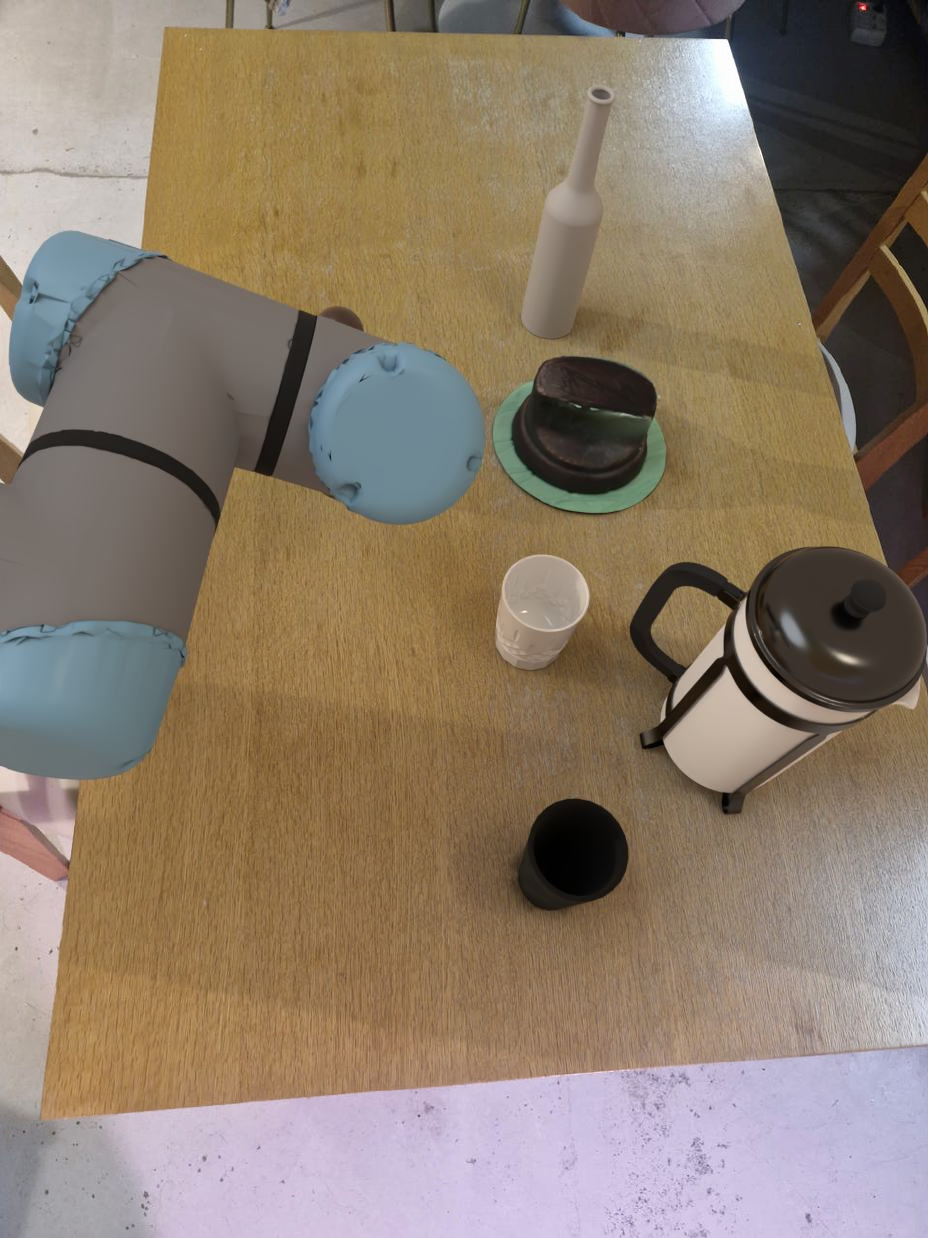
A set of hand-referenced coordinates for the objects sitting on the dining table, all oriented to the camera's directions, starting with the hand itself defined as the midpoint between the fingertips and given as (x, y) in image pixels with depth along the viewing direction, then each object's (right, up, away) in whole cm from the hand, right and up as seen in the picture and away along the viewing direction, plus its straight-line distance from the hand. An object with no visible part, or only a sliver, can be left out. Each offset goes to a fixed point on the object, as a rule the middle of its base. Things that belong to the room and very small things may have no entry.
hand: (336, 392), depth 71 cm
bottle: (+21, +18, +35) cm, 44 cm away
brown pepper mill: (0, -6, +4) cm, 7 cm away
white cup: (+17, -21, +14) cm, 31 cm away
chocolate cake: (+24, +1, +26) cm, 35 cm away
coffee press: (+33, -30, +11) cm, 46 cm away
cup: (+18, -42, +4) cm, 46 cm away
